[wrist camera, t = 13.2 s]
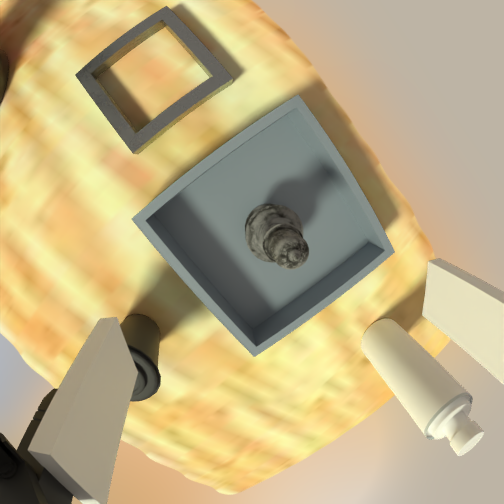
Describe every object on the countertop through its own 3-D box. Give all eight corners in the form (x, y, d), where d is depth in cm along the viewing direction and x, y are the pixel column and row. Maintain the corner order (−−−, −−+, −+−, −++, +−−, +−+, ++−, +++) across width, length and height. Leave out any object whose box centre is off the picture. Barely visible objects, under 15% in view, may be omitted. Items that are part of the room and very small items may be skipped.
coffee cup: (127, 361, 36) (109, 410, 27) (101, 312, 34) (72, 355, 24) (180, 350, 37) (172, 402, 27) (156, 297, 34) (137, 341, 25)
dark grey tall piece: (237, 206, 31) (250, 226, 20) (290, 196, 32) (331, 212, 20) (247, 257, 33) (263, 304, 22) (297, 247, 34) (337, 287, 22)
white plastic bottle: (361, 361, 41) (446, 484, 17) (358, 327, 39) (461, 456, 15) (398, 345, 41) (491, 450, 17) (397, 311, 39) (510, 417, 15)
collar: (81, 79, 26) (75, 75, 24) (168, 13, 25) (166, 5, 23) (137, 154, 30) (133, 153, 28) (232, 83, 29) (233, 78, 27)
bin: (143, 211, 31) (131, 218, 27) (286, 104, 30) (298, 94, 25) (249, 334, 37) (254, 356, 32) (374, 241, 36) (394, 252, 31)
